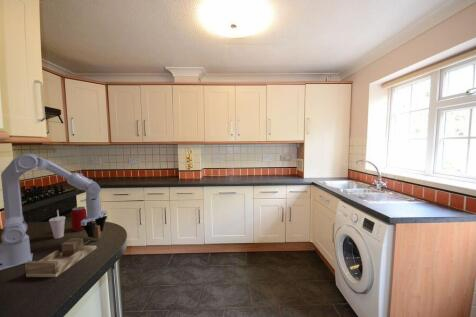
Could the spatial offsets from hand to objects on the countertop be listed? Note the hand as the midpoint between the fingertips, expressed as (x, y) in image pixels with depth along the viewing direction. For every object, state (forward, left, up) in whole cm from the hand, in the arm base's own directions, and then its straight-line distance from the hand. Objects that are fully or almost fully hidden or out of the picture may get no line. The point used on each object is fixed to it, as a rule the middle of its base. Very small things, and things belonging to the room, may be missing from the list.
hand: (95, 234), depth 100 cm
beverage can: (-4, +23, -3) cm, 23 cm away
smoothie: (-13, +19, -3) cm, 23 cm away
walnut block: (-5, -5, -2) cm, 8 cm away
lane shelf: (-12, -12, -3) cm, 17 cm away
